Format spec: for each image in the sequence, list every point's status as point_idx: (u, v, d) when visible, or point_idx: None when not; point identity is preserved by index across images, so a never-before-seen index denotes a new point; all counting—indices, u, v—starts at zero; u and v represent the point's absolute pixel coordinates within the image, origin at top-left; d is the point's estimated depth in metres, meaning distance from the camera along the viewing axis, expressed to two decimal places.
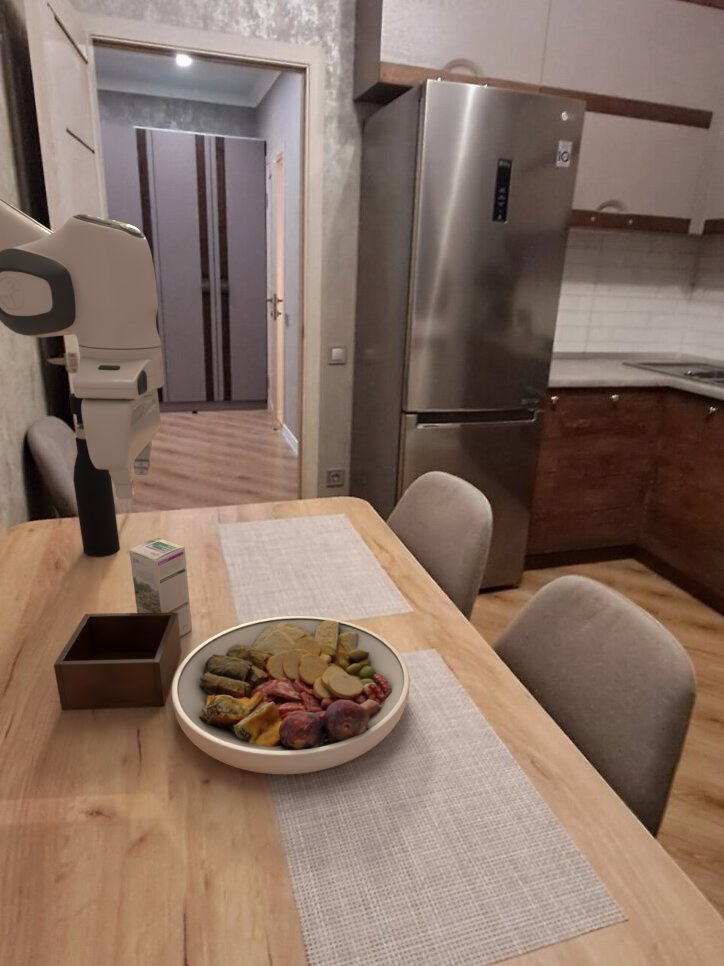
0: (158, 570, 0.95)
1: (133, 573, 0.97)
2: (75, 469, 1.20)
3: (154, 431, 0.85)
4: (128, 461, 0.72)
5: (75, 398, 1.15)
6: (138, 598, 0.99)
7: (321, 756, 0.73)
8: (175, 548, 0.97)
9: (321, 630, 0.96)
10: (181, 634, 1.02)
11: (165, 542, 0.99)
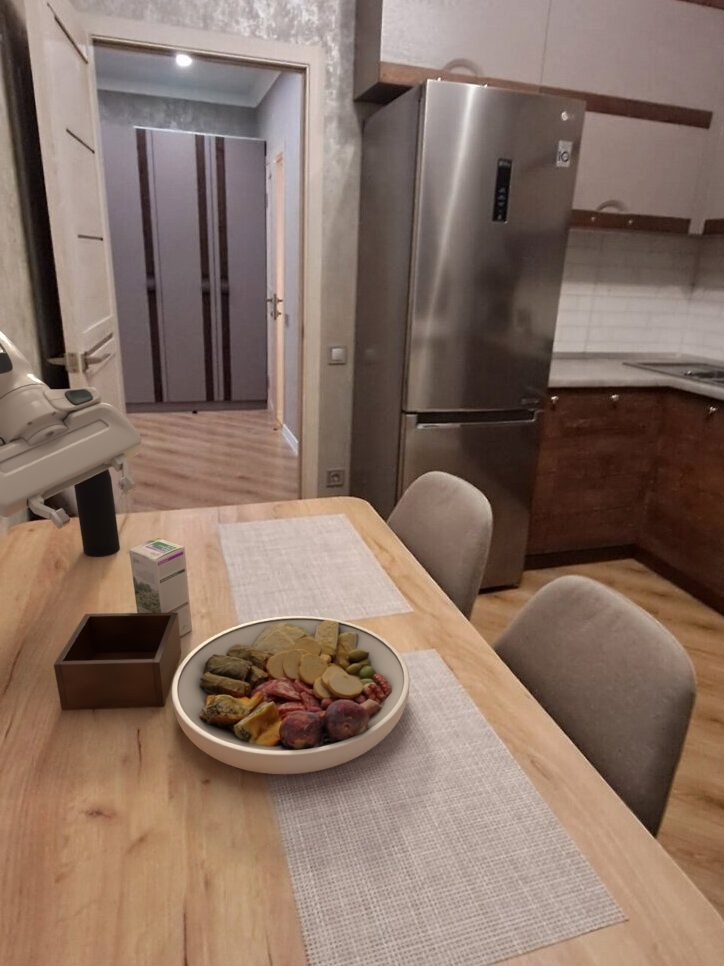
0: (158, 570, 0.95)
1: (133, 573, 0.97)
2: None
3: None
4: None
5: None
6: (138, 598, 0.99)
7: (321, 756, 0.73)
8: (175, 548, 0.97)
9: (321, 630, 0.96)
10: (181, 634, 1.02)
11: (164, 542, 0.99)
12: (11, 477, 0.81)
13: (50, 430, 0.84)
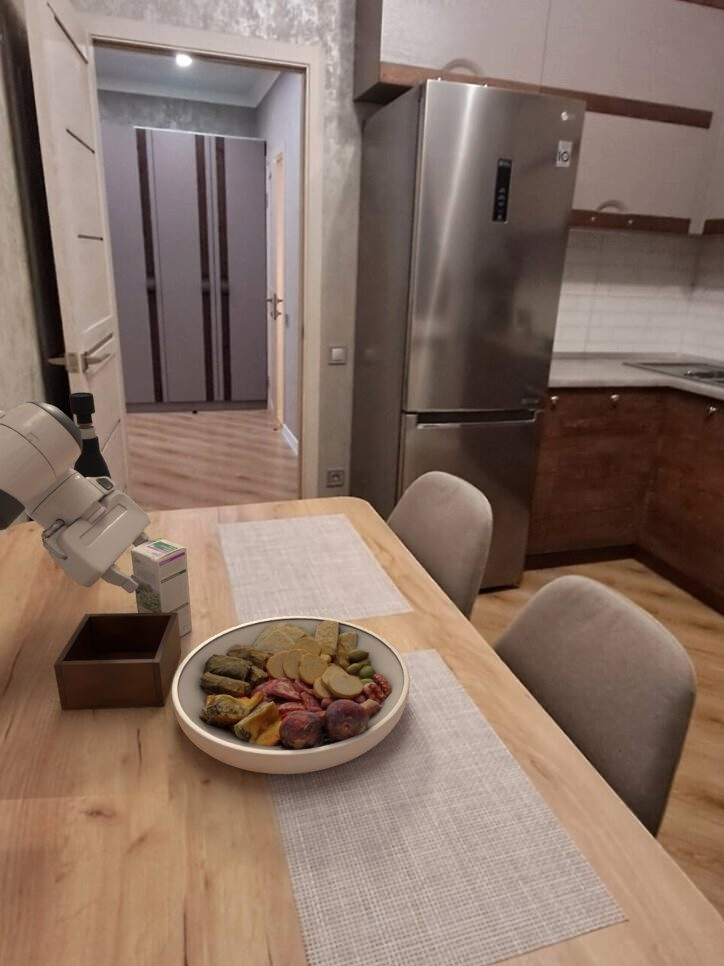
0: (159, 571, 0.94)
1: (134, 573, 0.97)
2: (75, 469, 1.20)
3: None
4: None
5: (75, 398, 1.15)
6: (139, 598, 0.99)
7: (321, 756, 0.73)
8: (177, 548, 0.97)
9: (321, 630, 0.96)
10: (181, 634, 1.02)
11: (166, 542, 0.99)
12: (94, 549, 0.89)
13: (104, 510, 0.94)
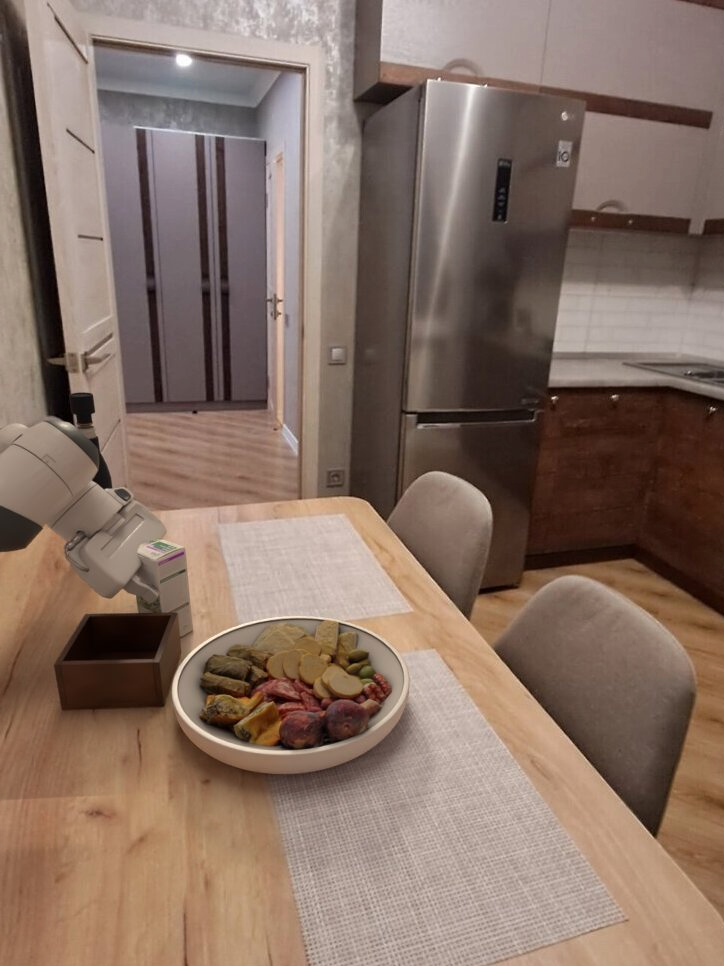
0: (158, 570, 0.95)
1: None
2: None
3: None
4: None
5: (75, 398, 1.15)
6: (139, 598, 0.99)
7: (321, 756, 0.73)
8: (176, 548, 0.97)
9: (321, 630, 0.96)
10: (182, 634, 1.02)
11: (165, 542, 0.99)
12: (115, 561, 0.91)
13: (123, 521, 0.96)
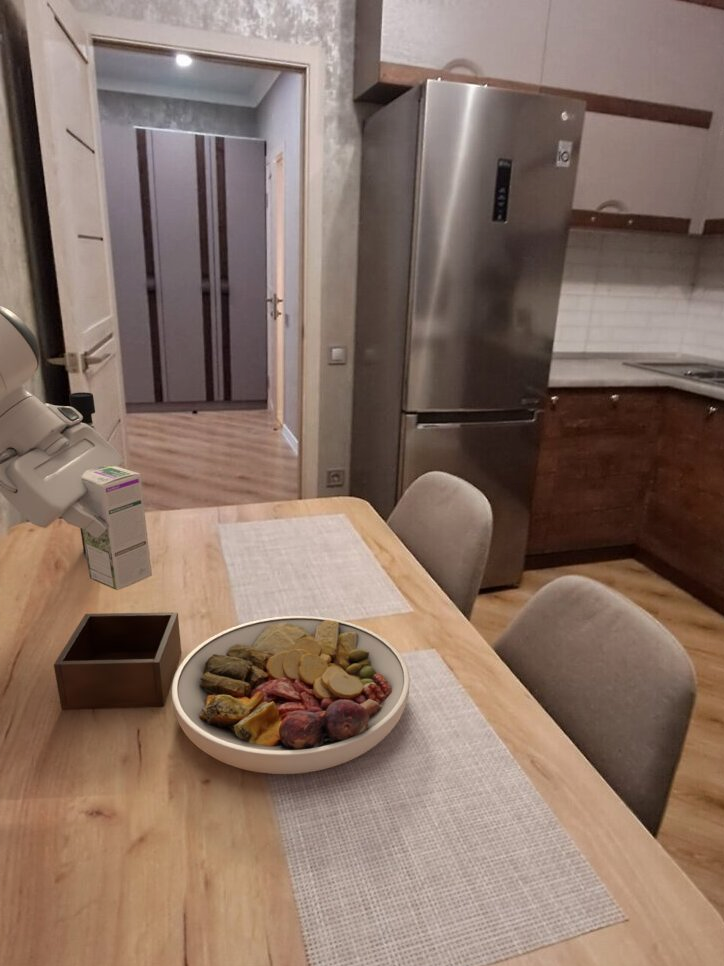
0: (106, 498, 0.79)
1: None
2: None
3: None
4: None
5: (75, 398, 1.15)
6: (86, 534, 0.84)
7: (321, 756, 0.73)
8: (128, 474, 0.82)
9: (321, 630, 0.96)
10: (138, 579, 0.86)
11: (118, 468, 0.84)
12: (52, 483, 0.75)
13: (65, 441, 0.81)
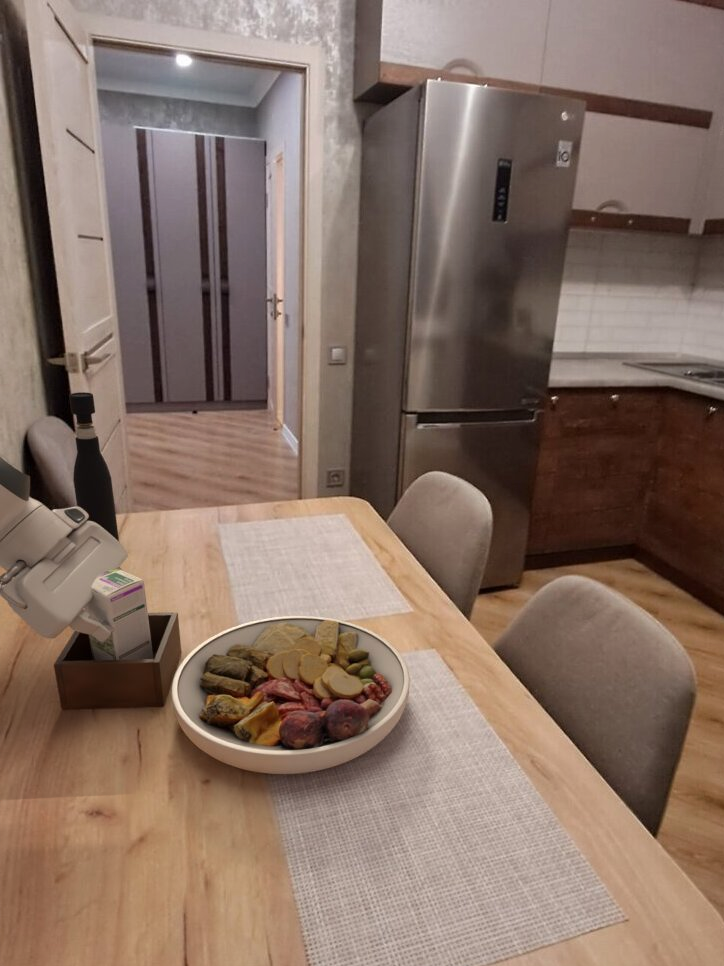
0: (111, 607, 0.83)
1: (85, 609, 0.86)
2: (75, 469, 1.20)
3: None
4: None
5: (75, 398, 1.15)
6: (92, 637, 0.87)
7: (321, 756, 0.73)
8: (132, 581, 0.85)
9: (321, 630, 0.96)
10: None
11: (122, 573, 0.87)
12: (60, 595, 0.79)
13: (72, 547, 0.84)
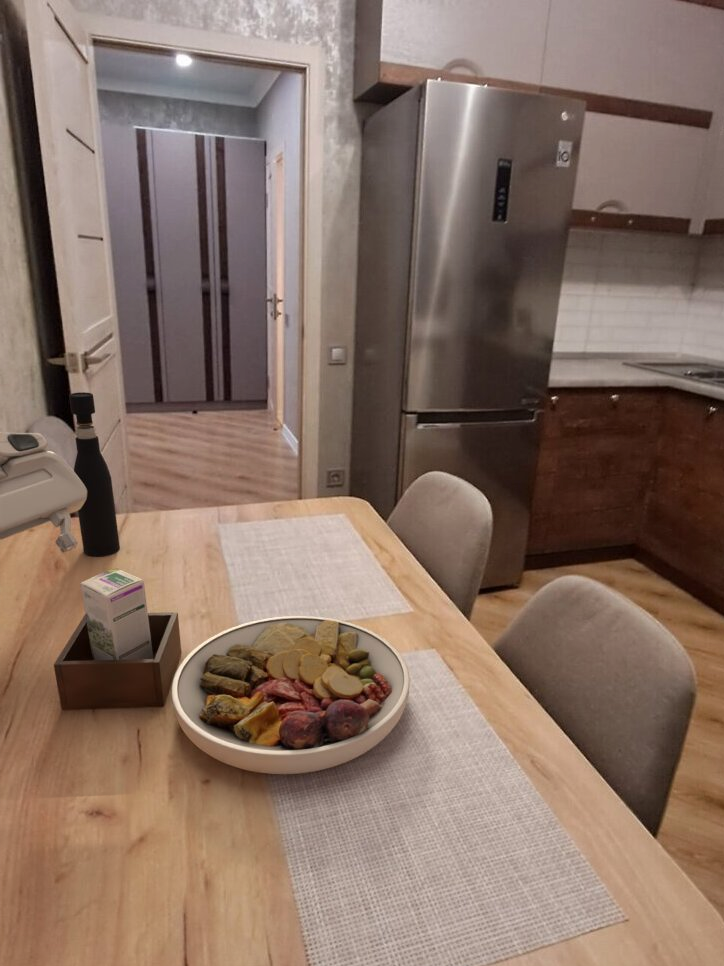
0: (111, 607, 0.83)
1: (85, 609, 0.86)
2: (75, 469, 1.20)
3: None
4: None
5: (75, 398, 1.15)
6: (91, 637, 0.87)
7: (321, 756, 0.73)
8: (132, 581, 0.85)
9: (321, 630, 0.96)
10: None
11: (122, 573, 0.87)
12: None
13: None
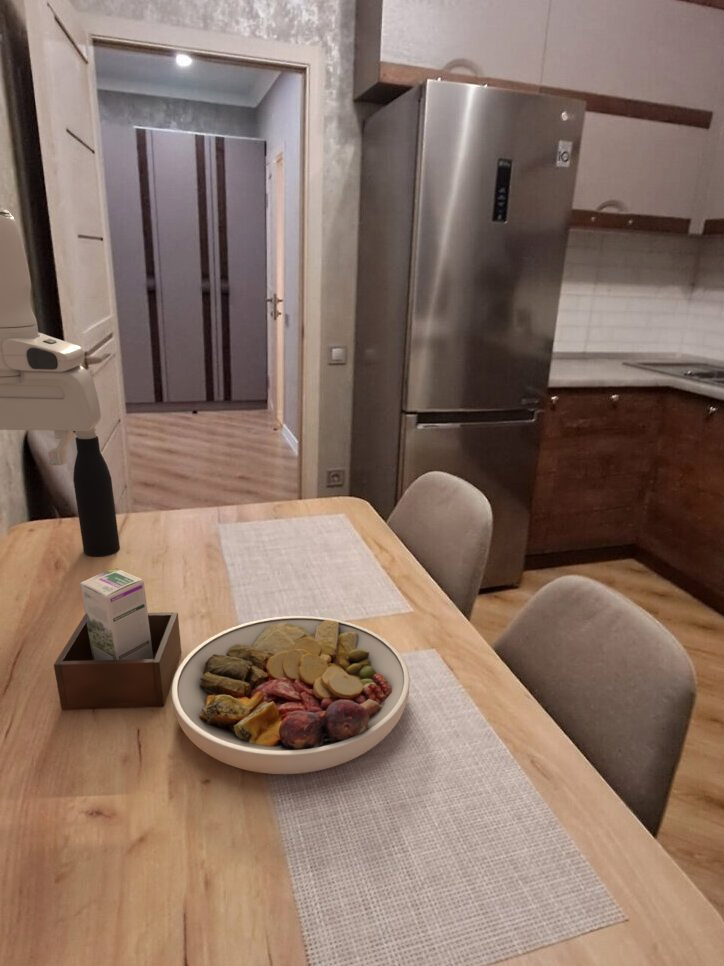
0: (111, 607, 0.83)
1: (85, 609, 0.86)
2: (75, 469, 1.20)
3: None
4: None
5: None
6: (91, 637, 0.87)
7: (321, 756, 0.73)
8: (132, 581, 0.85)
9: (321, 630, 0.96)
10: None
11: (122, 573, 0.87)
12: None
13: None
